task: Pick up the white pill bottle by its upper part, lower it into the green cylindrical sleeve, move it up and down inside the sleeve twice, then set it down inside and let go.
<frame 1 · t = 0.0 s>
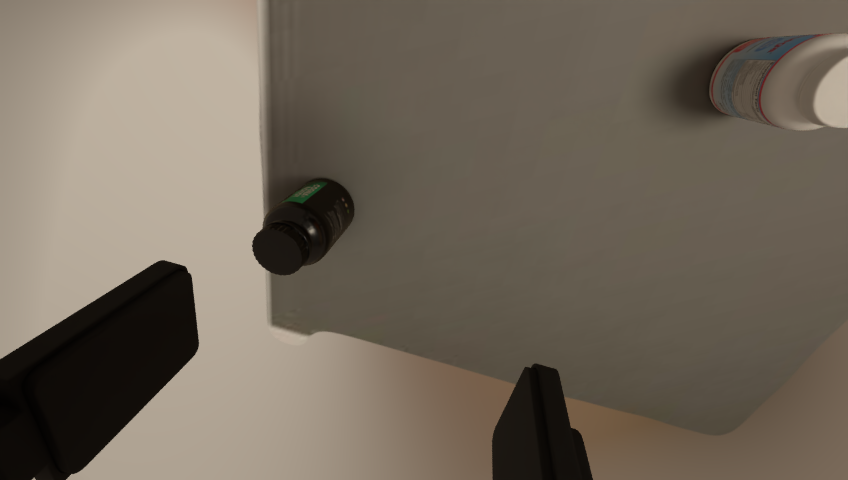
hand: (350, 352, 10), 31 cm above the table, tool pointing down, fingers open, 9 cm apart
pill bottle: (743, 78, 32), on the table
supplement bottle: (328, 204, 44), on the table
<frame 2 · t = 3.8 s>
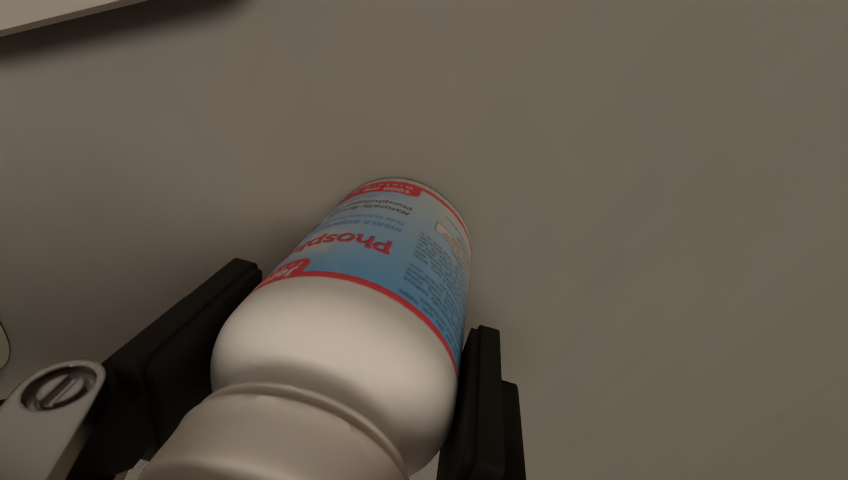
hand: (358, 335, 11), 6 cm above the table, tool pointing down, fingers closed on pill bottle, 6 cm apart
pill bottle: (402, 240, 16), on the table, touching gripper
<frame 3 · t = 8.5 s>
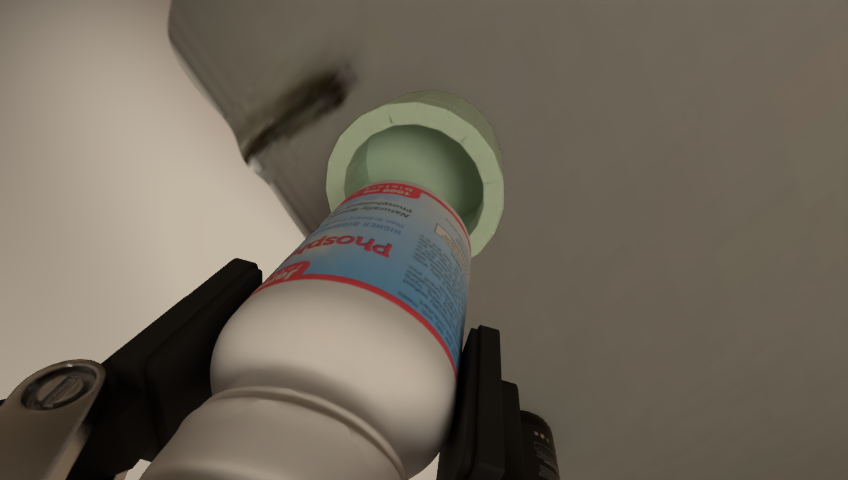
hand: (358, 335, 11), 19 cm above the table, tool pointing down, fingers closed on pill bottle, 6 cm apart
pill bottle: (402, 242, 16), point 13 cm above the table, touching gripper
supplement bottle: (518, 429, 40), on the table
green cylindrical sleeve: (430, 164, 28), on the table
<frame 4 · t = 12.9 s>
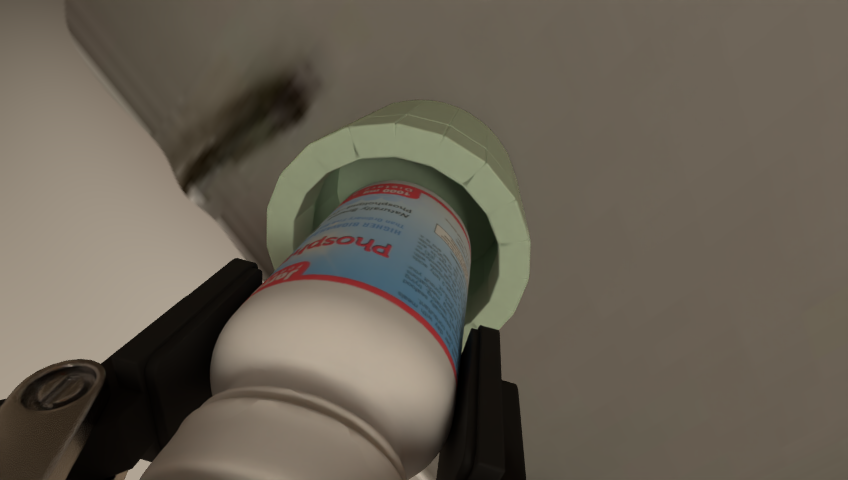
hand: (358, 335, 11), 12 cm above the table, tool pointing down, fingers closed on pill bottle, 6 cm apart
pill bottle: (402, 242, 16), point 6 cm above the table, touching gripper
green cylindrical sleeve: (422, 196, 21), on the table
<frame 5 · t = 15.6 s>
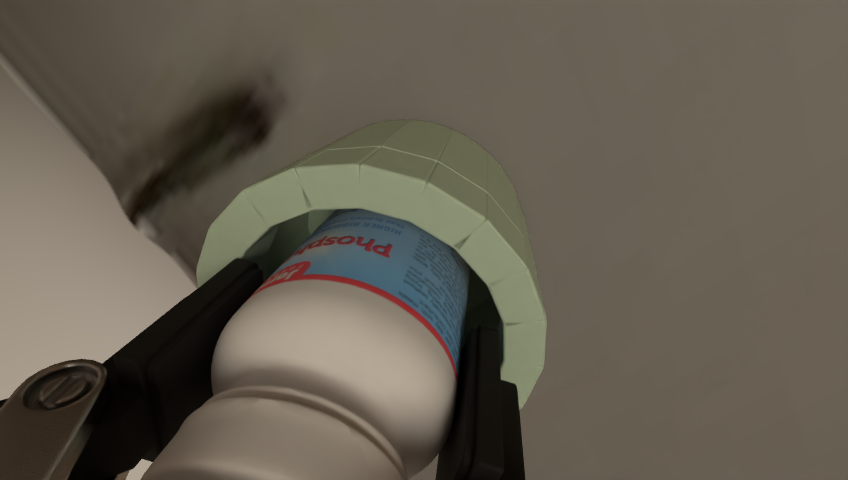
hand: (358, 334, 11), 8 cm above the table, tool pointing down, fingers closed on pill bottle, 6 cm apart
pill bottle: (402, 242, 16), point 1 cm above the table, touching gripper
green cylindrical sleeve: (410, 233, 18), on the table
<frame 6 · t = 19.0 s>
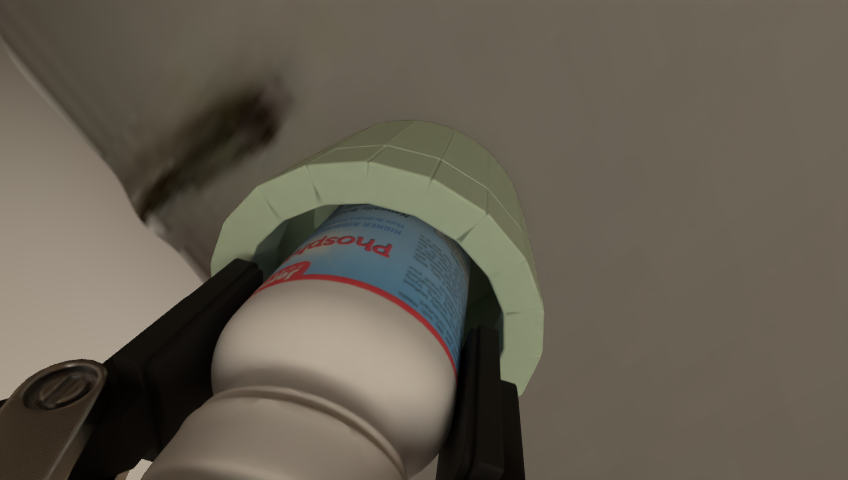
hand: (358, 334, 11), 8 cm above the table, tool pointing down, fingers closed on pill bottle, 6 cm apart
pill bottle: (402, 242, 16), point 2 cm above the table, touching gripper
green cylindrical sleeve: (412, 230, 18), on the table
when the fingers open (8 cm above the table, at t = 22.1 s): pill bottle drops 1 cm, resting on green cylindrical sleeve.
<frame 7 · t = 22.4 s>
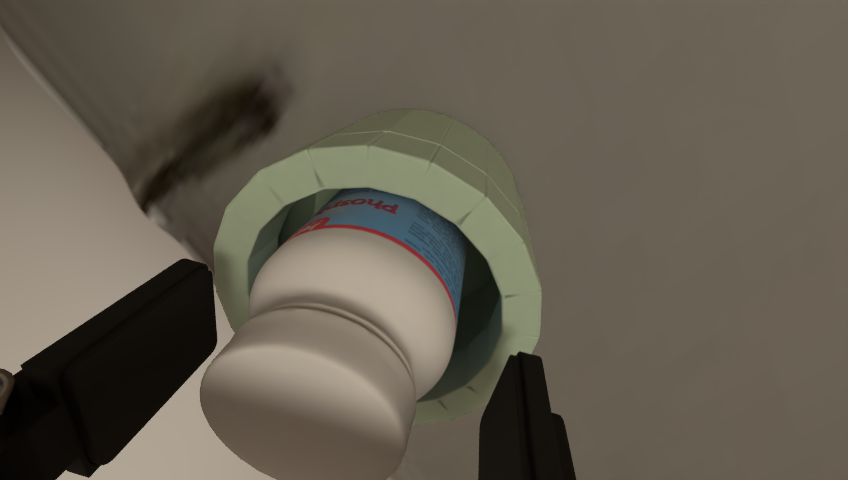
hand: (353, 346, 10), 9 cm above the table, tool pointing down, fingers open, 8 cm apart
pill bottle: (407, 217, 18), resting on green cylindrical sleeve
green cylindrical sleeve: (412, 219, 18), on the table
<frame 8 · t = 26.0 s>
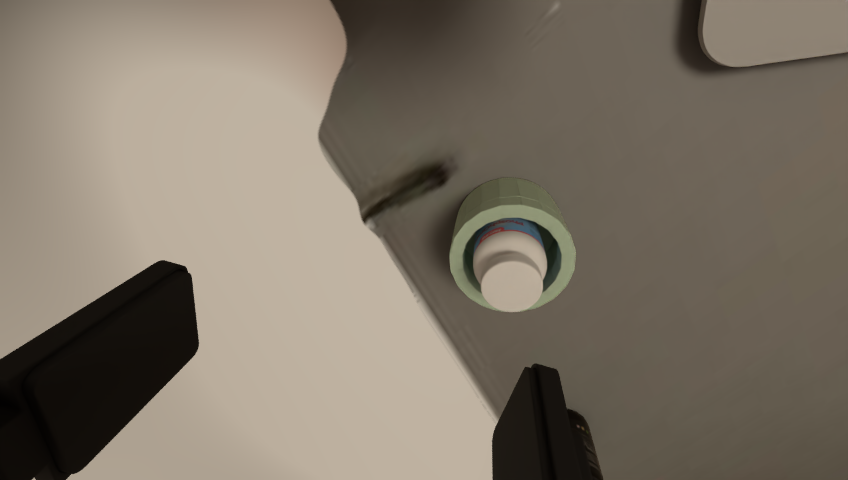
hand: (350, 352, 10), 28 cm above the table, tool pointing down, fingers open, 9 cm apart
pill bottle: (505, 225, 38), resting on green cylindrical sleeve
supplement bottle: (560, 423, 50), on the table
green cylindrical sleeve: (506, 226, 38), on the table
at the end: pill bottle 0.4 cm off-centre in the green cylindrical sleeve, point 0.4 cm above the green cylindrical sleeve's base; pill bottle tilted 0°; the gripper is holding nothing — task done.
